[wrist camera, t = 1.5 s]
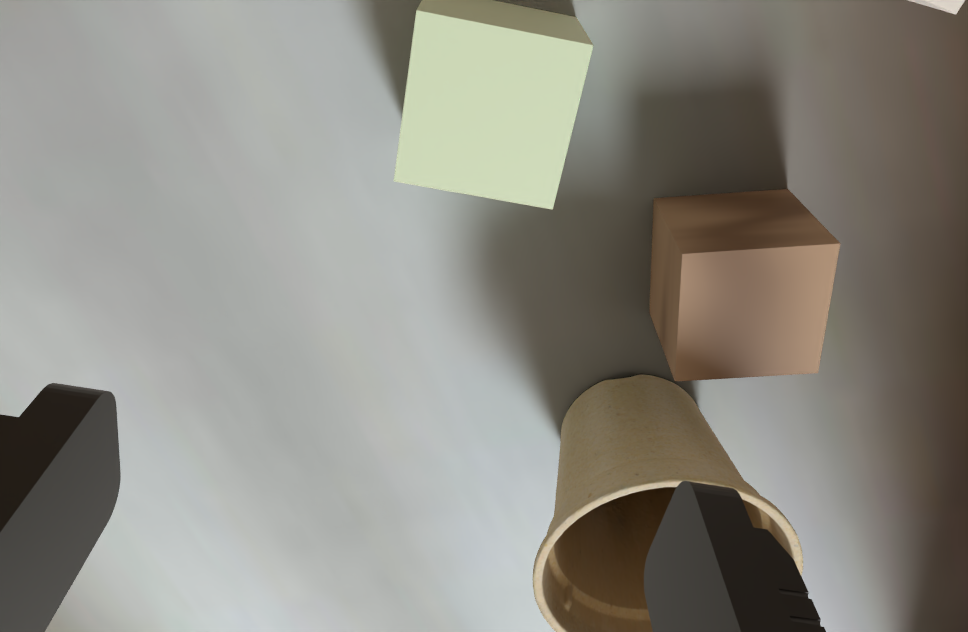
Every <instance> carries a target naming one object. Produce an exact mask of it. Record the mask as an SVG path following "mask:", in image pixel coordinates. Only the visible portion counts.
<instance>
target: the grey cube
mask: <svg viewBox="0 0 968 632" xmlns="http://www.w3.org/2000/svg"><path fill="white" fill-rule="evenodd" d="M908 1H912V2H915V3H918V4H922V5H925V6H929V7H932V8H935V9H939V10H942V11H946V12H949V13H952V14H957V12H958V10H959V9H960V7H961V6H962V4H963V3H964V1H965V0H908Z"/></svg>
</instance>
